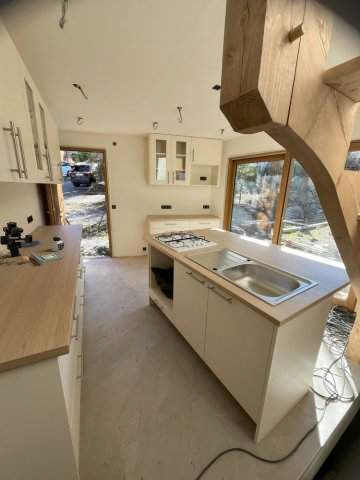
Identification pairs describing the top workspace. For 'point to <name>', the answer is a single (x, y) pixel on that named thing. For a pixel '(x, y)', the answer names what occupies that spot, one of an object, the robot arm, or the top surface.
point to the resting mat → (49, 257)
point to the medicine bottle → (57, 244)
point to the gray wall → (36, 258)
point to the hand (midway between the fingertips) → (19, 242)
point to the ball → (24, 259)
